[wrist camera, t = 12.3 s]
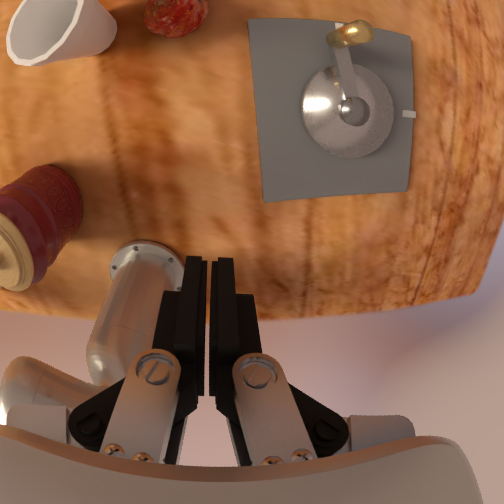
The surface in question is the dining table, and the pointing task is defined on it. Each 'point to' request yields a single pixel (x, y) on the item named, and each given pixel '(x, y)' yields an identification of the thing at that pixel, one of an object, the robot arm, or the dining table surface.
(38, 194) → the canister
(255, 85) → the base
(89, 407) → the robot arm
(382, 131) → the crank handle
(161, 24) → the pomegranate
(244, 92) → the dining table surface
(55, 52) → the foam cup
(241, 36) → the dining table surface
